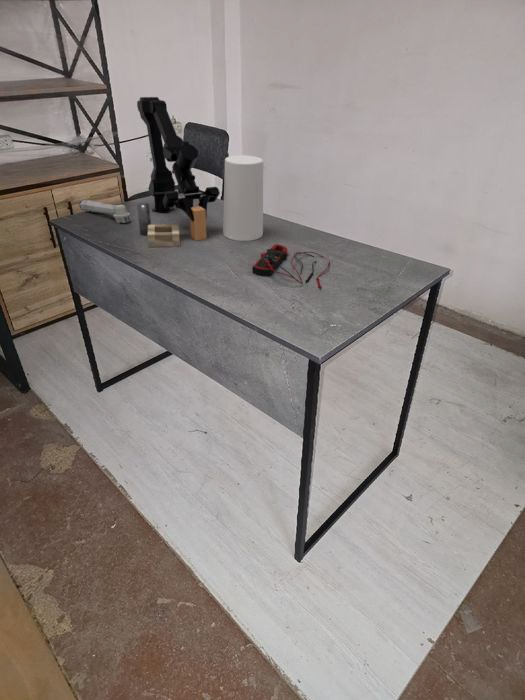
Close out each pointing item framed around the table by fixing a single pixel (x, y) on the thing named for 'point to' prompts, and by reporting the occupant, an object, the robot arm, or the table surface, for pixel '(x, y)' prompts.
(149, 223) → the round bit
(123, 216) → the grey knobbed rod
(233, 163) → the cylinder
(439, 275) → the table surface
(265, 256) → the digital clamp meter
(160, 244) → the socket block
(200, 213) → the square bit
